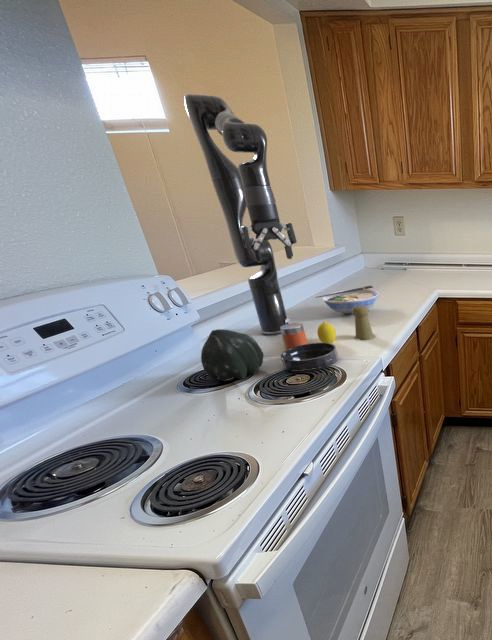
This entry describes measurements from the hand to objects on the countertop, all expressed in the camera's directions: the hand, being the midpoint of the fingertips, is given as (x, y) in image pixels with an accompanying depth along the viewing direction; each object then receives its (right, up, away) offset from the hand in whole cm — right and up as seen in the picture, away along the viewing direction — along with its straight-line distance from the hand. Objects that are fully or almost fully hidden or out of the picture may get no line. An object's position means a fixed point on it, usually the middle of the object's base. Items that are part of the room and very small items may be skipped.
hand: (275, 260), depth 127 cm
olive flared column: (+21, -22, +19) cm, 36 cm away
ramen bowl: (+7, -8, +50) cm, 51 cm away
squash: (-5, -35, -9) cm, 37 cm away
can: (+4, -28, +6) cm, 29 cm away
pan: (+12, -32, -3) cm, 34 cm away
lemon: (+12, -25, +12) cm, 30 cm away
